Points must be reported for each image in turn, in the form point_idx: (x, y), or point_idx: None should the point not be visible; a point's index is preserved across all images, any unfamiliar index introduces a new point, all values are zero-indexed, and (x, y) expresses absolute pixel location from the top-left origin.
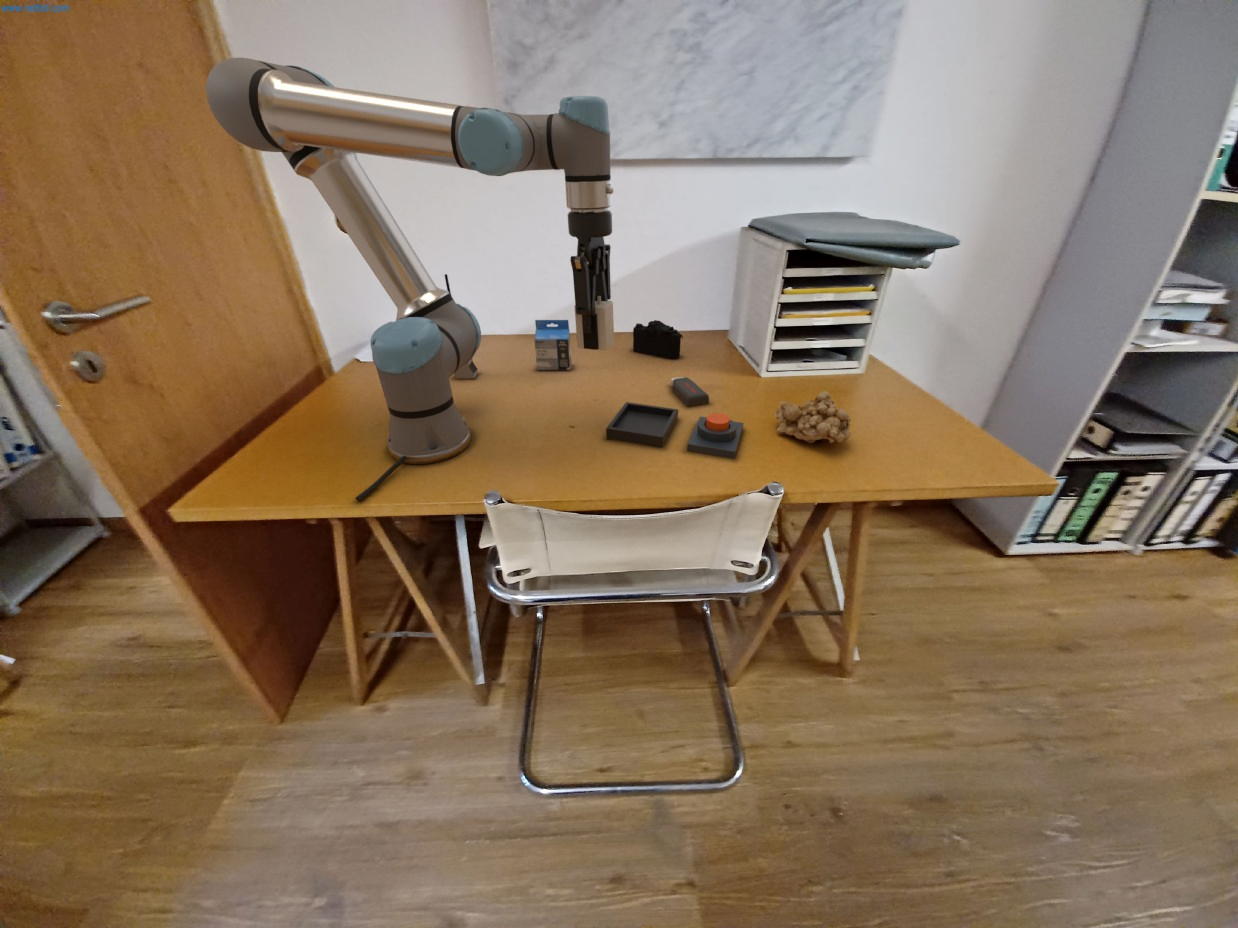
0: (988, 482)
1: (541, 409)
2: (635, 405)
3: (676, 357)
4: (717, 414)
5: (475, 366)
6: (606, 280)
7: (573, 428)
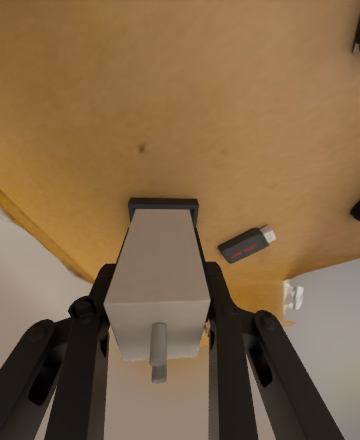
0: None
1: (178, 69)
2: (193, 215)
3: (352, 214)
4: None
5: None
6: (277, 433)
7: (138, 152)
